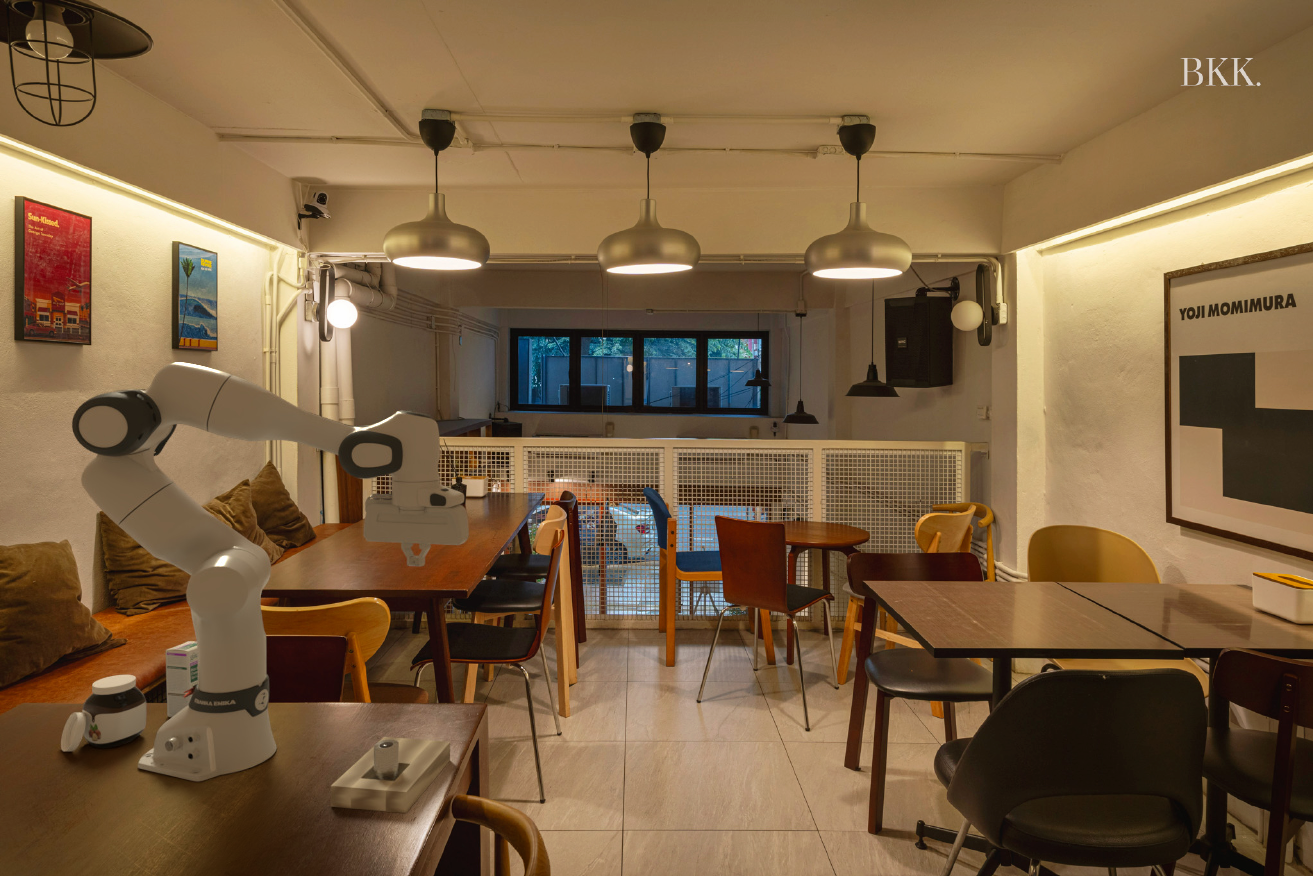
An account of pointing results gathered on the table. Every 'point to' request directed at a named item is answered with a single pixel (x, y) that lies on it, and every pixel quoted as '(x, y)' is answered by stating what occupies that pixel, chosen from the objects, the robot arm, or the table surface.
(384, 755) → the bushing
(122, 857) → the table surface
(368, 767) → the frame
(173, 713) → the syrup box
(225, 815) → the table surface
